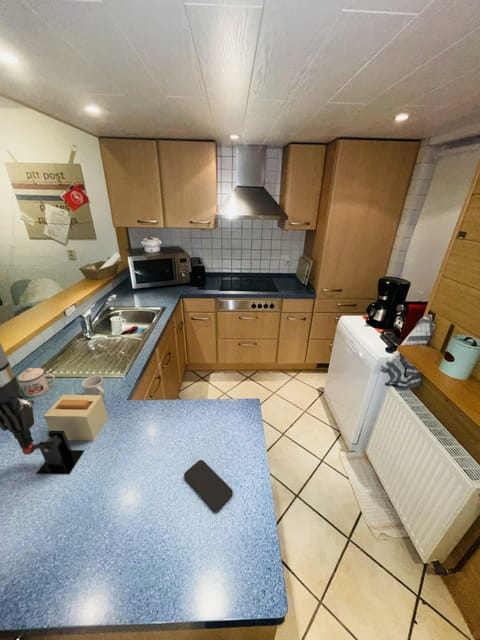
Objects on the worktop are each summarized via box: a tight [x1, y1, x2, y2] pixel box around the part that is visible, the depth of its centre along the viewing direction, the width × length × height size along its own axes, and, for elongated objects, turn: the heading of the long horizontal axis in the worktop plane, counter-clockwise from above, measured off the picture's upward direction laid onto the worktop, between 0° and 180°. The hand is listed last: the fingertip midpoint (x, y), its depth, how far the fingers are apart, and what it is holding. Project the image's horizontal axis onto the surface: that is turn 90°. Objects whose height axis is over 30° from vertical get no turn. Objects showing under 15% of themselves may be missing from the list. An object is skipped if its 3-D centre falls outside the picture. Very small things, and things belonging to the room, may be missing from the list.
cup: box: [81, 374, 106, 398], centre depth 105 cm, size 11×8×8 cm
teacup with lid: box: [17, 367, 56, 398], centre depth 108 cm, size 12×9×12 cm
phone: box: [183, 459, 234, 513], centre depth 74 cm, size 7×1×15 cm
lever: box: [21, 435, 61, 456], centre depth 76 cm, size 12×3×3 cm, turn 89°
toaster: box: [43, 394, 109, 441], centre depth 89 cm, size 14×10×12 cm
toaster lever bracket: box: [35, 430, 85, 475], centre depth 77 cm, size 10×8×12 cm
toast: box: [58, 400, 90, 410], centre depth 88 cm, size 9×2×11 cm, turn 90°
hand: (27, 444), depth 76 cm, fingers closed
